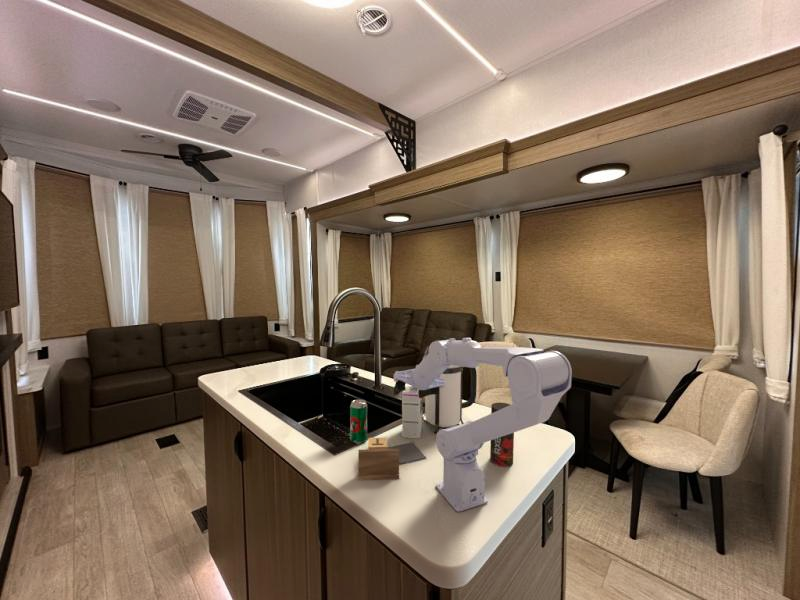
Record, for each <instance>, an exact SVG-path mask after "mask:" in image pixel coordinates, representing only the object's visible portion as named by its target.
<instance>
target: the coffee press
mask: <svg viewBox="0 0 800 600" xmlns="http://www.w3.org/2000/svg"><path fill="white" fill-rule="evenodd" d="M442 340H448V338H447V337H446V336H442V337H441V338H440V341H442ZM429 347H430V345H428V346H427V348H426V350H425V351H424V356H423V357H422V360H421V362H422V361H423V359H424V358H425V357H426V356H427V355H428V354H429ZM463 368H464V367H463V366H455V365H450V366H449V367H448V368H447V369H446V370H445V371H444V372H443V373H442V374H441V375H440V376H439V377H440V378H444V379H445V384H446V385H445V386H444V387H443V388H439V393H438V394H437V395H428V396H425V397H424V398H425V400H424V402H425V403H424V408H425V410H424V414H423V423H424V422H428V424H430V425H432V426H434V428H433V433H434V434H437V433H438V431H439V430H441V429H442V428H451V427H454V426H458V425H461V424H464V423H465V422H464V421H463V409H466V408H467V409H468V408H469V407H471V406H472V405H473V404H474V403H475V402H476V398H477V383H478V381H477V380H478V378H477V376H478V375H477V372H478V371H477V369H476V368H477V367H475V368H471V367H468V368H469V370H470V371H469V372H470V395H469V398H468V400H467V401H465V402H463V370H464V369H463ZM424 418H425V419H424ZM460 423H461V424H460Z"/></svg>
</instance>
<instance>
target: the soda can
mask: <svg viewBox="0 0 800 600" xmlns="http://www.w3.org/2000/svg"><path fill="white" fill-rule="evenodd" d="M349 417H350V418H349V422H350V425H349V429H350V431H349V436H350V437H349V439H350V442H351V441H354V440H356V441H357V442H363V441H365V440H366V441H368V404H367V401H366V400H365V399H354V400H351V403H350V406H349ZM366 441H365V442H366Z"/></svg>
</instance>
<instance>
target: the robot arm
mask: <svg viewBox="0 0 800 600" xmlns="http://www.w3.org/2000/svg"><path fill="white" fill-rule="evenodd" d="M429 346H430V347H429V354H428V355H427V356H426V357H425V358H424V359H423V358H422V360H423V361H422V360H421V362H420V363H419V364H416V365H415V368H412V369H407V370H402V369H398V370H395V372H394V373H393V382H395V385H394V387H393V395H395V396H398V395H399V394H400V393H402V392H403V390H406V389H405V387H406V384H407V385H409V386H413V387H415V388H417V389H419V391H418V394H419V398H422V399H423V398H425V396H428V395H437V394H438V393H439V388H443V387H444V386H445V385H446V384H445V379H444V378H440V377H439V376H440V375H441V374H442V373H443V372H444V371H445V370H446V369H447V368H448V367H449V366H450V365H455V366H463V368H469V367H471V368H477V367H479V366H480V365H481V364H486V365H492V366H496V367H502V372H503V373H502V375H503V376H504V377H505V378H507V379H508V380H507V381H508V385H509V390H510V396H511V403H512V404H510V406H508V407H505V408H503V409H501V410H498V411H496V412H494V413H492V414H491V413H490V414H488V415H484V416H483V417H480V418H477V419H475V420H474V421H473V420H472V421H471V420H470V421H467V422H463V423H464V424H462V423H461V424H460V425H458V426H457V425H455V426H452V427H446V428H445V429H444V428H440V430H439V431H438V433H436V437H435V445H436V448H437V451H438V453H439V454H440V456H442V458H443V469H442V471H443V474H442V475H443V478H442V482H438V483H436V484H435V487H436V488H437V489H438V491H439V492H440V493H441V495H442V496H443V497H444V498H445V499H446V501H448V503H449V504H450V505H451V507H452V508H453V509H454V510H455V511H456V512H462V511H465V510H468V509H472V508H475V507H477V506H481V505H485V504H487V503H488V499H487V498H486V497H485V487H486V486H485V485H486V484H485V481H486V479H485V478H486V476H485V474H484V471H483V470H482V469H481V468H480V466H479V463H478V462H477V457H478V455H479V450H481V449H482V448H483V446H484V444H486V443H487V442H491V440H493V439H496V438H499V437H502V436H505V435H508V434H511V433H514V434H515V433H516V432H520V431H521V430H525V429H528V428H531V427H534V426H536V425H539V424H542V423H546V421H549V419H550V418H551V416H552V414H553V412H554V410H555V409H556V407H557V405H558V404H559V402H560V400H561V399H562V397H563V396H564V395H565V393H567V392H568V391H569V390H571V388H572V375H573V374H572V373H573V370H572V366H571V365H572V364H571V363H570V361H569V359H568V358H567V356H566V355H564V354H563V353H561V352H559V351H557V350H548V351H544V349H542V348H535V347H522V346H521V347H520V346H510V347H509V346H482V345H481V344H480V343H479V342H478V341H476V340H472V338H471V337H463V338H462V340H456V338H454V337H452V338H451V337H450V338H448V339H447V340H442V341H441V340H435V341H432V342H431V343H430V345H429Z"/></svg>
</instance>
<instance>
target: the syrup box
mask: <svg viewBox="0 0 800 600" xmlns="http://www.w3.org/2000/svg"><path fill="white" fill-rule="evenodd" d="M405 389H406V390H403V391H401V412H402V413H401V417H402V418H401V419H402V421H401V422H402V423H401V425H402V427H401V428H402V430H401V431H402V438H403V437H404V438H409V439H421V437H422V434H423V429H424V428H423V427H424V422H423V416H424V414H423V411H424V409H423V400H424V399H423V398H419V394H418V391H419V389H417V388H415V387H413V386H411V385H409V386H407V385H405Z"/></svg>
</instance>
